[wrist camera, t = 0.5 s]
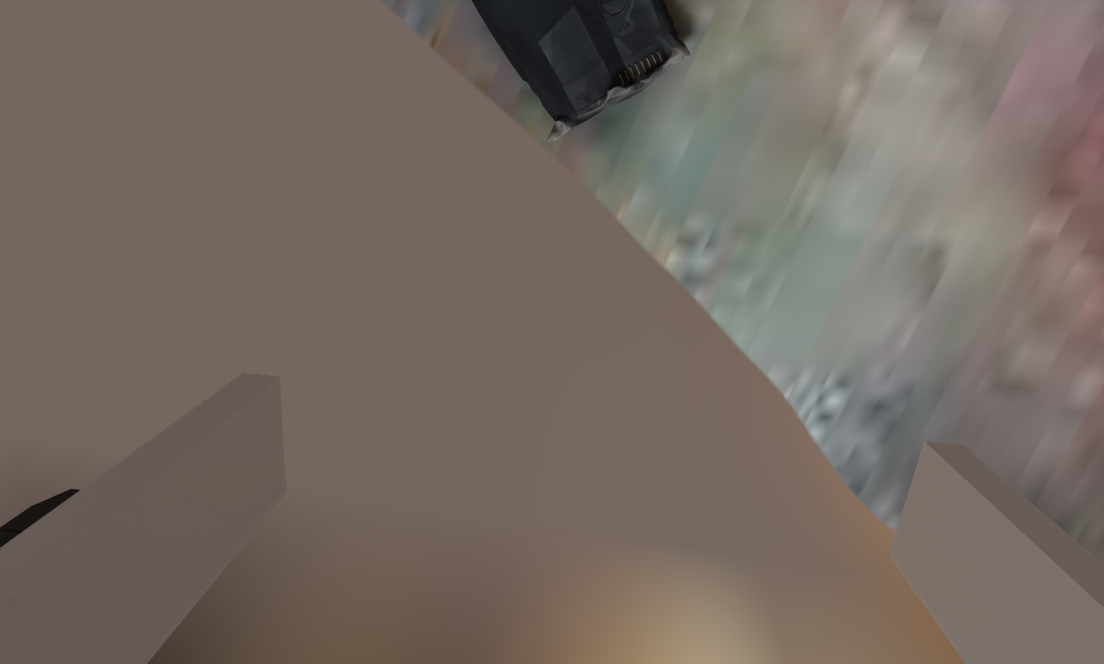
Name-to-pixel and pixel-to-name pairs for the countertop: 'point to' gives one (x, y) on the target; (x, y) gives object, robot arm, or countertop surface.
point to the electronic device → (584, 50)
